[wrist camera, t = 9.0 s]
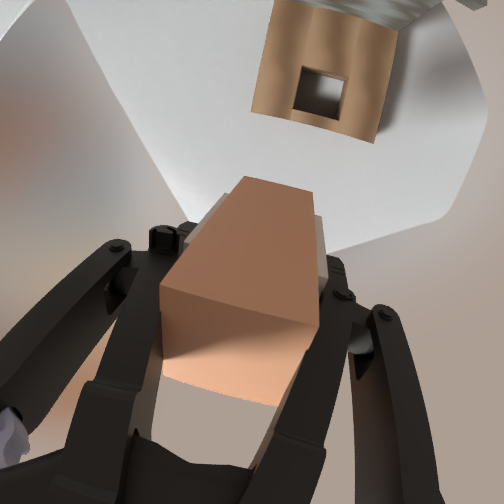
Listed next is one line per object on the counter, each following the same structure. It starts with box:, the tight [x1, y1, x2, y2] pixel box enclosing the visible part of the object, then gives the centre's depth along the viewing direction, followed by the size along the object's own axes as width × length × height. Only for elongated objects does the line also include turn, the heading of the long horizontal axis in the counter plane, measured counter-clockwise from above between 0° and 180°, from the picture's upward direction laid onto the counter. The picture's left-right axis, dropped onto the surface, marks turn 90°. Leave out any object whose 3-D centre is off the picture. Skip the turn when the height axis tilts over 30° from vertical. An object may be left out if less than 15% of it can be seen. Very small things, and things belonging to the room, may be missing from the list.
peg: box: [159, 176, 319, 407], centre depth 14 cm, size 4×4×12 cm
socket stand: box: [251, 0, 487, 144], centre depth 21 cm, size 17×18×26 cm
